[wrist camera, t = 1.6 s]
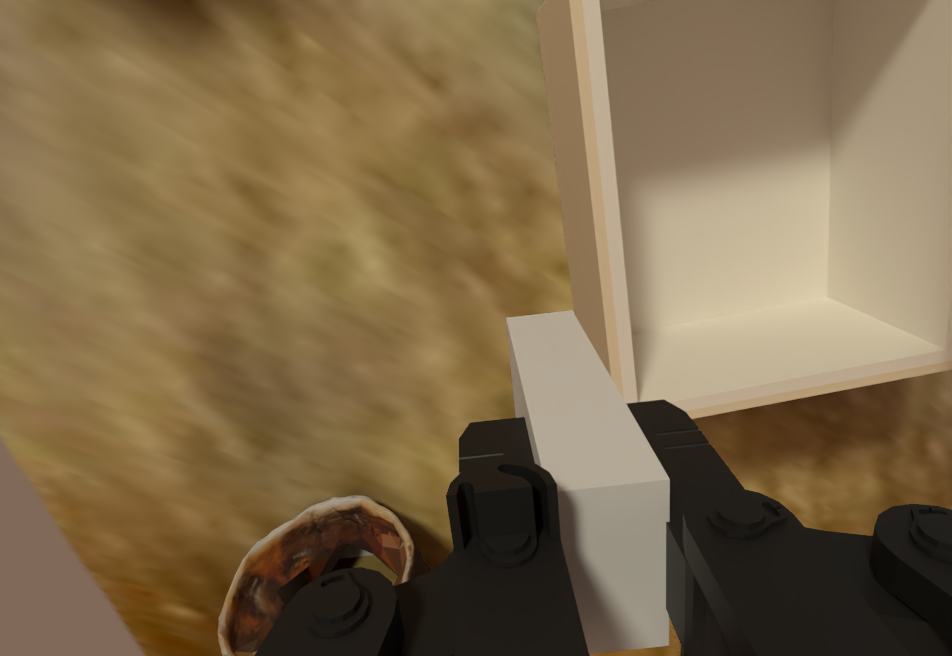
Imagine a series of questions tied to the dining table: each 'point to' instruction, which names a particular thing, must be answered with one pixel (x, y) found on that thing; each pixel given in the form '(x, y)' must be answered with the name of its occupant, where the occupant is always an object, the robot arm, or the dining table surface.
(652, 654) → the dining table surface
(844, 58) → the carton
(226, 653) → the dark rounded piece
